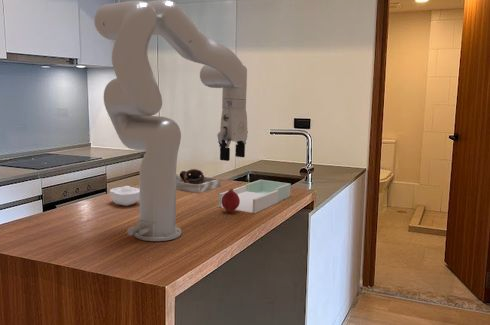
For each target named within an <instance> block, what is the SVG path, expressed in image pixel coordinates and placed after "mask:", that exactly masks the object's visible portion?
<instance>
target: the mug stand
mask: <svg viewBox="0 0 490 325" xmlns="http://www.w3.org/2000/svg"><path fill="white" fill-rule="evenodd" d="M204 181H205V182H203V183H202V184H199V185H196V184H189V183H184V181H183V180H182V179H181V177H180V174H178V175H177V174H176V191H183V192H190V193H195V194H199V193H203V192H206V191H210V190H214V189H216V188H221V187H222V179H221V178H216V177H210V176H204Z"/></svg>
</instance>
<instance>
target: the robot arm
mask: <svg viewBox="0 0 490 325" xmlns="http://www.w3.org/2000/svg"><path fill="white" fill-rule="evenodd" d="M94 14H95V15H94V26H95V29H96V31H97V32H98V34H99V35H100V36H102V37H103V38H104V39H107V40H110V41H114V43H113V47H112V52H111V64H112V68H113V71H114V74H115V77H116V78H113V79H112V80H110V81H109V82H108V83H106V85H105V87H104V90H103V104H104V106H105V110H106V112H107V115H108V117H109V119H110V121H111V123H112V125H113V126H112V127H113V128H114V129H115V131H116V134H117V136H118V138H119V140H120V141H121V143H122V144H123V145H124V146H125V147H126V148H128V149H131V150H134V151H140V152H145V154H144V157H143V158H142V160H141V163H140V167H139V189H140V198H139V213H138V214H139V219H138V220H136V222H137V223H136V224H135V226H131V227H128V228H127V234H128V236H134V238H136V239H138V240H141V241H145V242H146V241H147V242H167V241H172V240H175V239H178V238H179V237H180V236H181V235H182V229H181V227H179V226H177V225H176V221H177V220H176V219H177V218H176V215H177V211H176V210H177V208H176V207H177V190H176V176H177V166H178V165H177V164H178V155H179V149H180V144H181V139H182V138H181V137H182V134H181V132H182V131H181V128H180V126H179V125H178V123H177V122H176V121H175V120H173V119H171V118H169V117H165V116H159V115H158V116H157V114H158V113H159V112H160V111H161V109H162V107H163V98H162V94H161V90H160V89H159V86H158V83H157V80H156V78H155V75H154V72H153V69H152V66H151V63H150V61H149V56H148V54H149V53H148V52H149V51H148V50H149V45H150V42H151V38H152V36H161V37H162V38H163V39H164V40H165V41H166V42H167V43H168V44H169V45H170V46H171V47H172V48H173V49H174V50H175V52H177V53H178V54H179V56H180V57H182V58H183V59H185V60H188V61H190V62H194V63H197V64H201V65H203V66H202V67H201V69H200V71H199V80H200V81H201V83H202V84H203V85H204V86H206V87H208V88H210V89H211V88H212V89H213V88H214V89H222V91H221V92H222V95H221V96H222V98H221V99H222V100H221V101H222V102H221V103H222V104H221V109H222V111H221V118H220V130H219V132H218V133H217V136H216V137H217V139H218V140H217V142H218V144H219V160H220V161H225V162H230V159H231V158H230V156H231V155H230V154H231V149H230V148H231V147H230V145H231V143H232V142H235V143H236V144H235V154H234V155H235V157H236V158H237V157H238V158H245V157H246V156H245V155H246V154H245V153H246V144H247V142H246V141H247V139H248V133H249V132H248V114H247V85H248V84H247V83H248V82H247V81H248V69H247V67H246V65H244V63H243V62H242V61H241V60H240V58H238V56H237V54H236V53H234V51H232V50H231V49H229V48H228V47H227V46H226V45H223V44H222V43H221V42H219V41H216V40H215V39H213V38H211V37H209V36H207V35H205V34H204V33H203V32H202V31H201V30H200V29H199V28H198V27H197V25H196V24H195V22H194V21H193V20H192V19H191V18H190V17H189V16H188V15H187V13H186V12H185V11H184V10H183V9H182V7H180V5H178V4H177V3H176V2H175V1H173V0H152V1H151V0H150V1H143V0H127V1H122V2H114V3H107V4H104V5H102V6H100V7H99V8H98V9H97V10H96V12H95V13H94Z"/></svg>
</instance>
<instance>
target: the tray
mask: <svg viewBox="0 0 490 325" xmlns="http://www.w3.org/2000/svg"><path fill="white" fill-rule="evenodd" d="M291 185H292V184H291V183H288V182H280V181H274V180H266V179H258V180H255V181H252V182H249V183H246V184H245V185H244V186H247V190H246V191H248V192H255V193H262V194H268V193H270V192H273V191H275V190H278V191H279V192H278V203H279V202H281V201H283V199H284V200H286V199H288V198H290V197H291V189H292V188H291Z"/></svg>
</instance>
